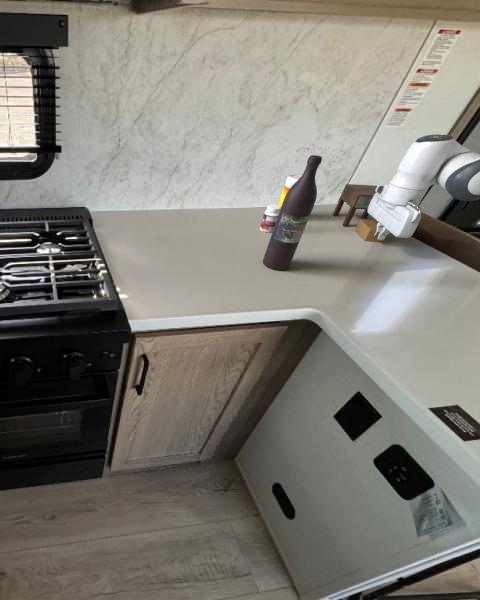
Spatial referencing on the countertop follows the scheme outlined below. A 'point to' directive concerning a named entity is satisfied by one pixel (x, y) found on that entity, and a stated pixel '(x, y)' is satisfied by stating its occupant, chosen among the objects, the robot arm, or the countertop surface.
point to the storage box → (367, 230)
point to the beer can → (288, 186)
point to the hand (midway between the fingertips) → (378, 238)
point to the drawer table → (355, 200)
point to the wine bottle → (293, 218)
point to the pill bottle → (270, 218)
